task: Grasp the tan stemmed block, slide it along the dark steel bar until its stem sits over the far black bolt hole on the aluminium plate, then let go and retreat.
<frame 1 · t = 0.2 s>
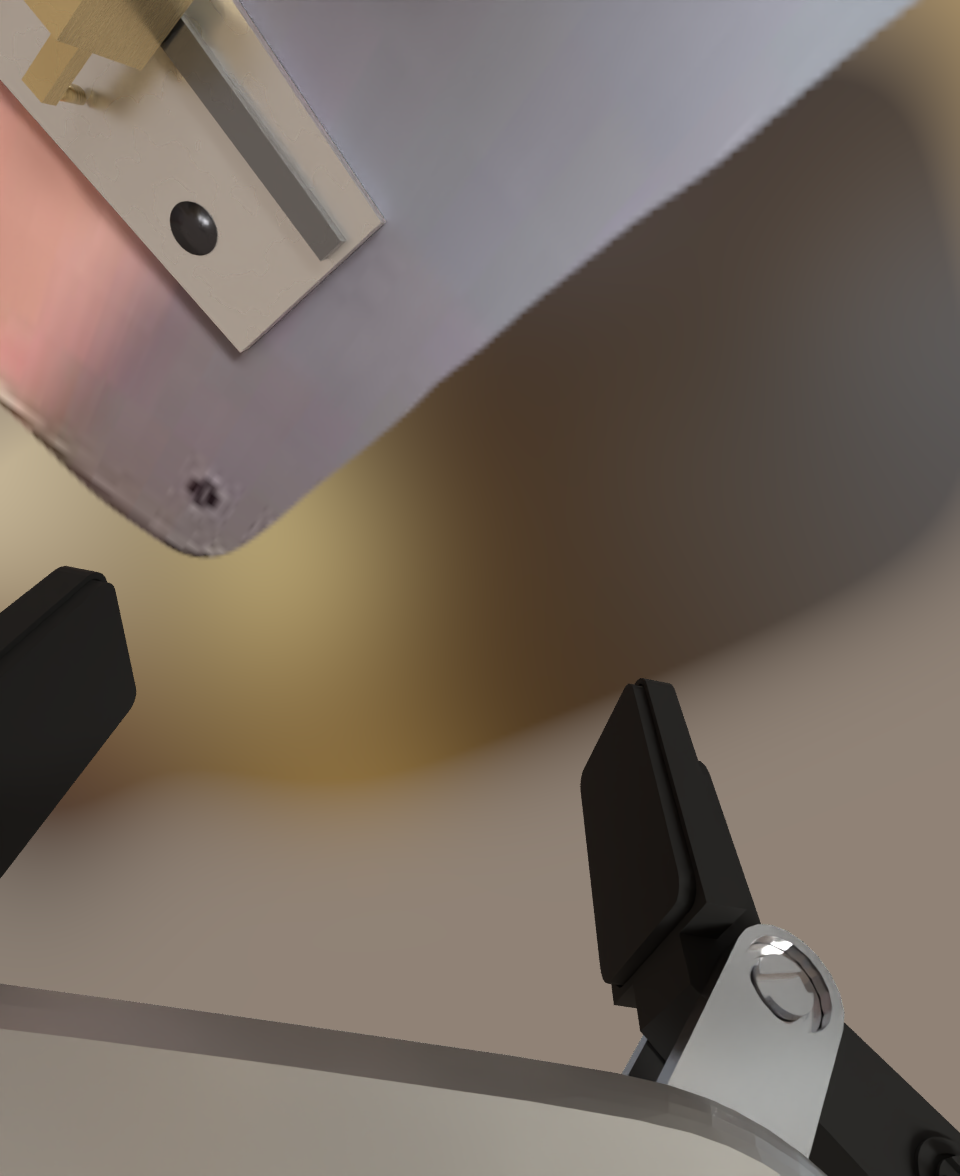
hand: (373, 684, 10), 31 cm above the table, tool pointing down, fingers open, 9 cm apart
hole plate: (135, 56, 29), on the table
tan stemmed block: (74, 11, 24), point 5 cm above the table, slide at 4.0 cm
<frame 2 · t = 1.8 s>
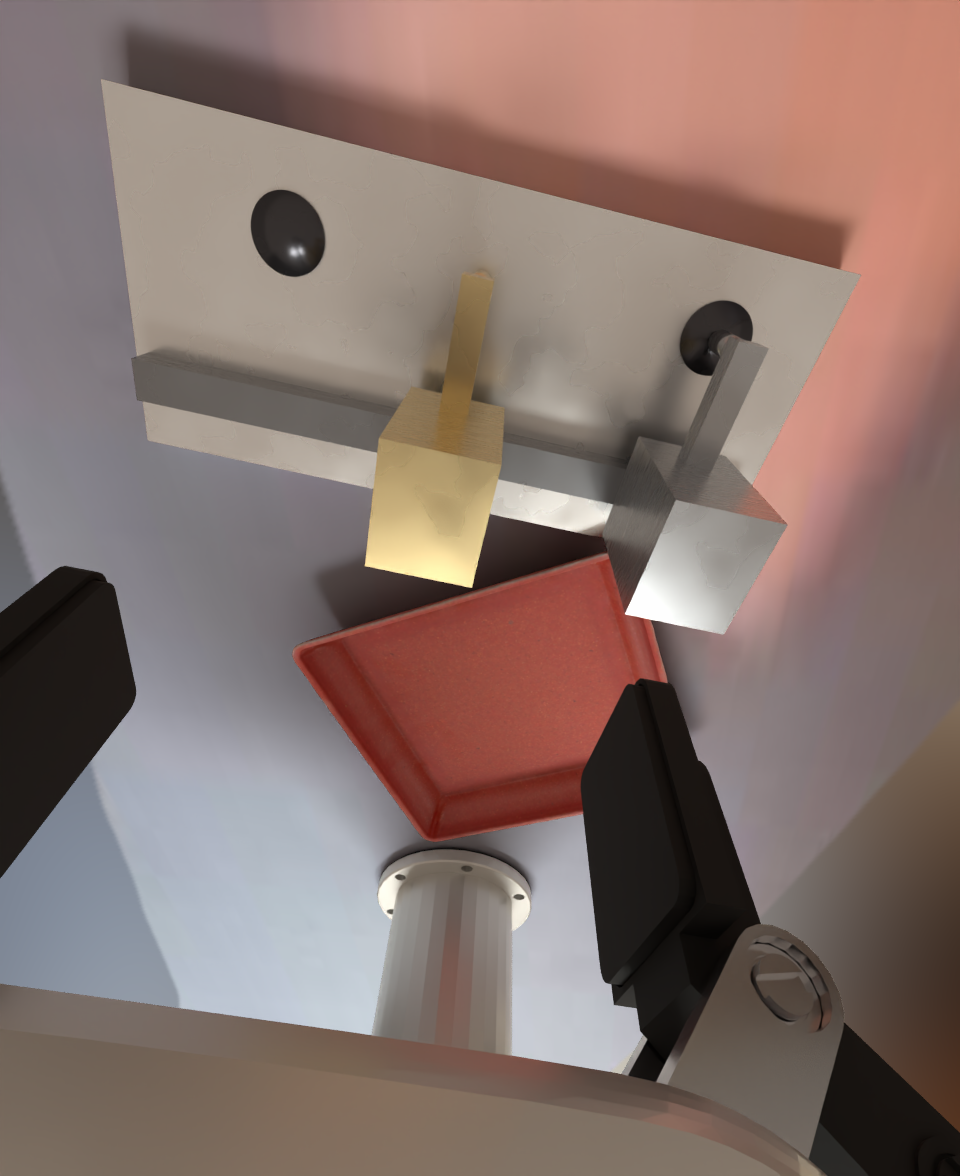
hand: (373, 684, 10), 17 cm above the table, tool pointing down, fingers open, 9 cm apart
plant saucer: (507, 684, 34), on the table
hole plate: (468, 359, 23), on the table
tan stemmed block: (451, 419, 19), point 6 cm above the table, slide at 4.0 cm
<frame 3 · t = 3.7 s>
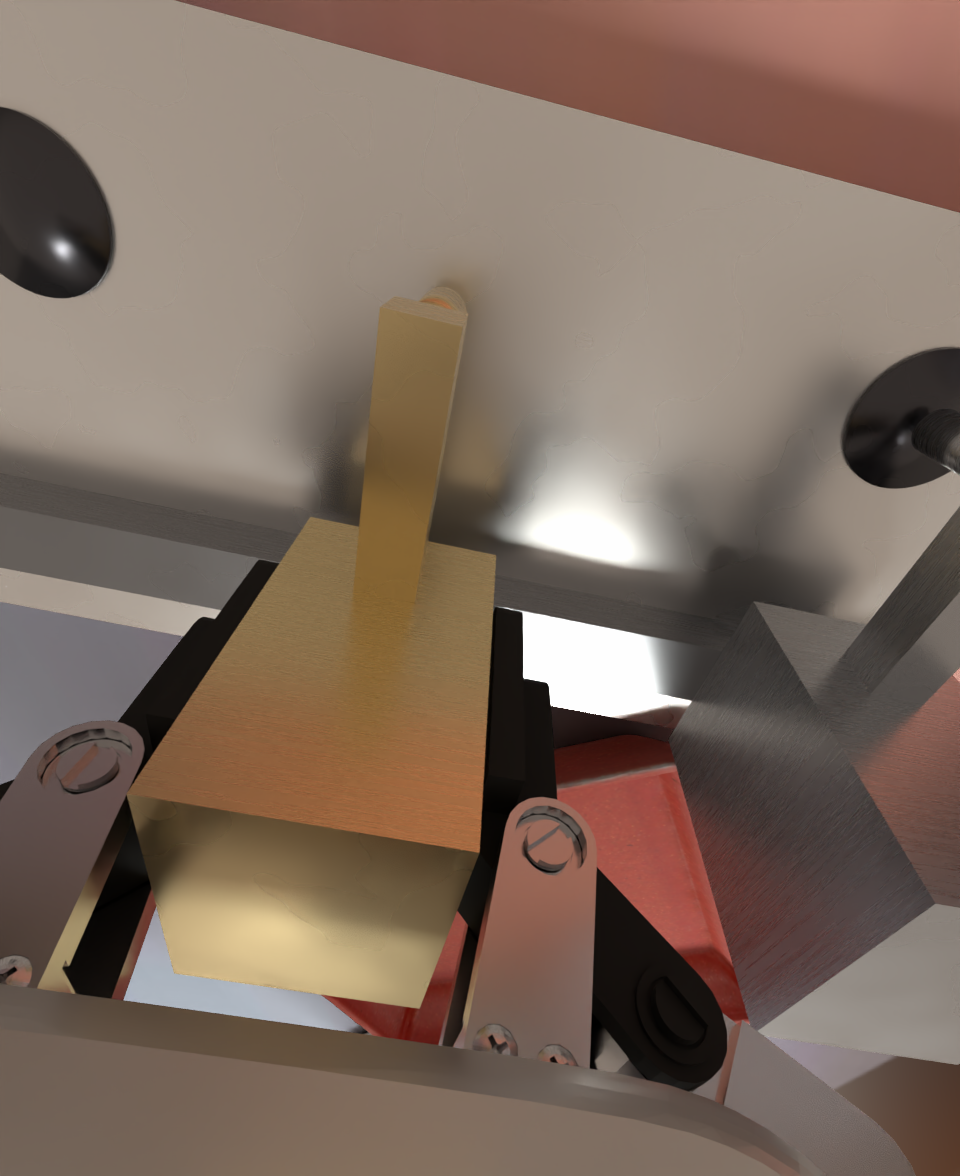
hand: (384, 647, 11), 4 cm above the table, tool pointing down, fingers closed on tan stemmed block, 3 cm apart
plant saucer: (505, 865, 24), on the table
hole plate: (430, 441, 13), on the table
tan stemmed block: (376, 620, 9), point 5 cm above the table, slide at 4.0 cm, touching gripper
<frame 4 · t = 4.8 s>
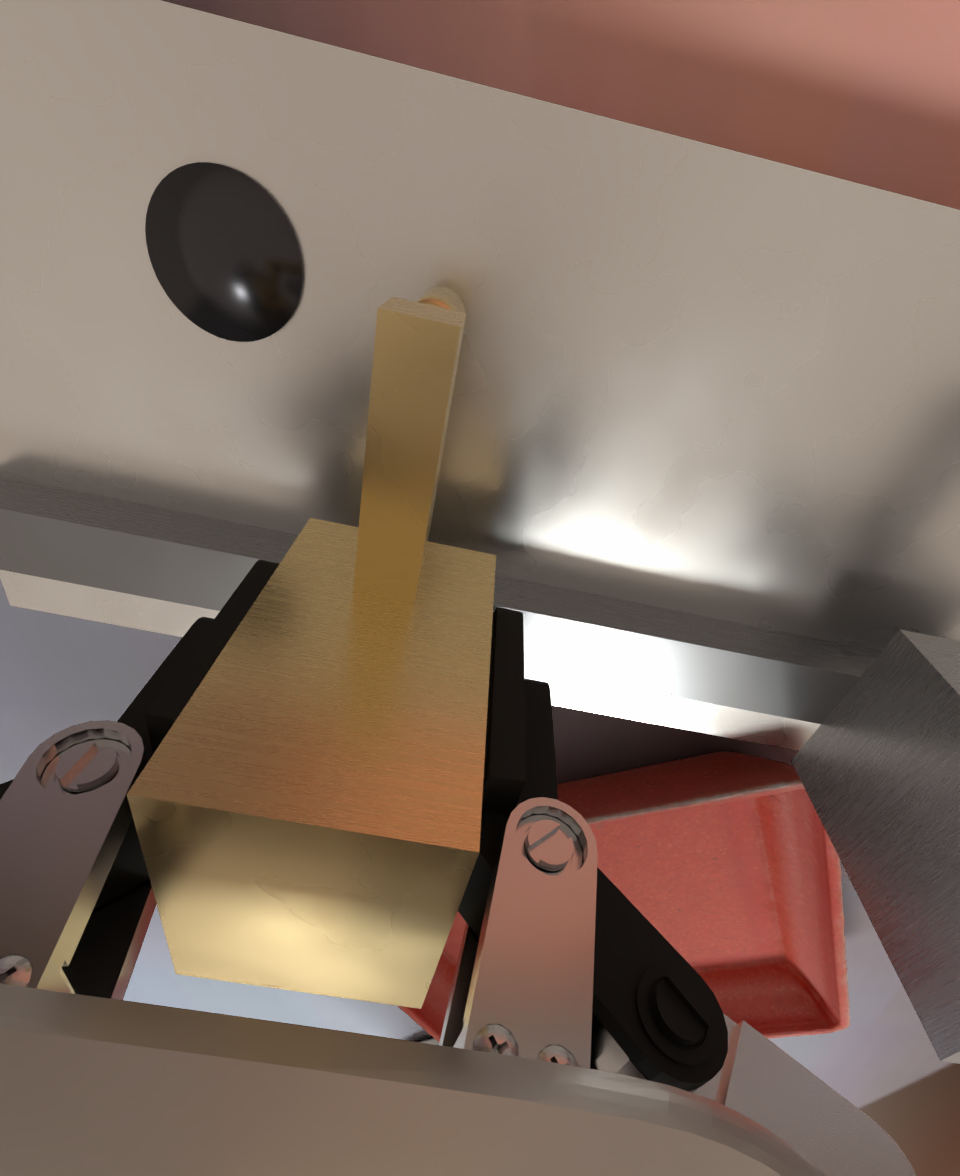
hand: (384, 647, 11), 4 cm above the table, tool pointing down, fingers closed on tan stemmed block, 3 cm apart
plant saucer: (580, 877, 24), on the table
hole plate: (567, 471, 13), on the table
tan stemmed block: (376, 620, 9), point 5 cm above the table, slide at 7.2 cm, touching gripper
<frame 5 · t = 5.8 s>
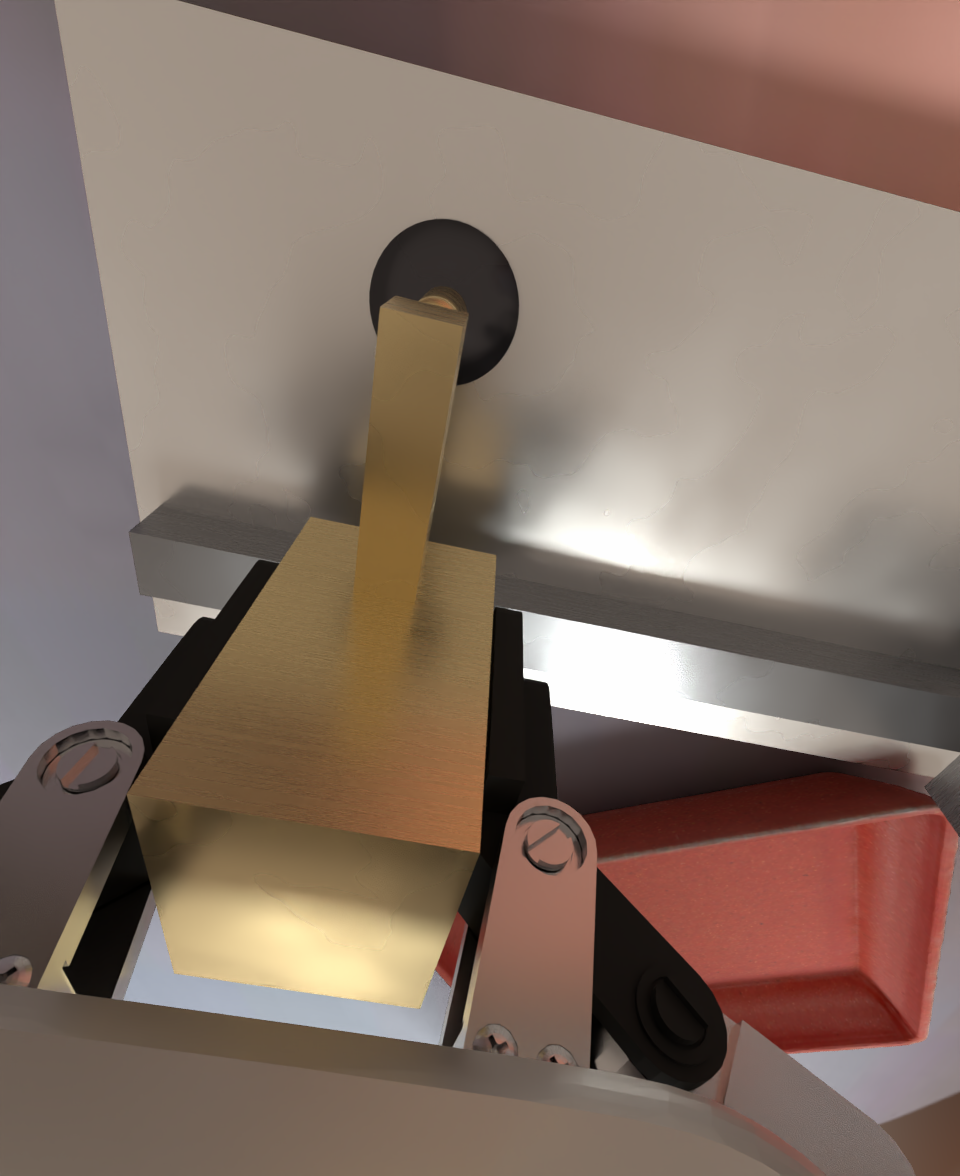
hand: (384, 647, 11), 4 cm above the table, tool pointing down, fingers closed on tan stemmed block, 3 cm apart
plant saucer: (660, 891, 24), on the table
hole plate: (720, 505, 13), on the table
tan stemmed block: (377, 620, 9), point 6 cm above the table, slide at 11.0 cm, touching gripper
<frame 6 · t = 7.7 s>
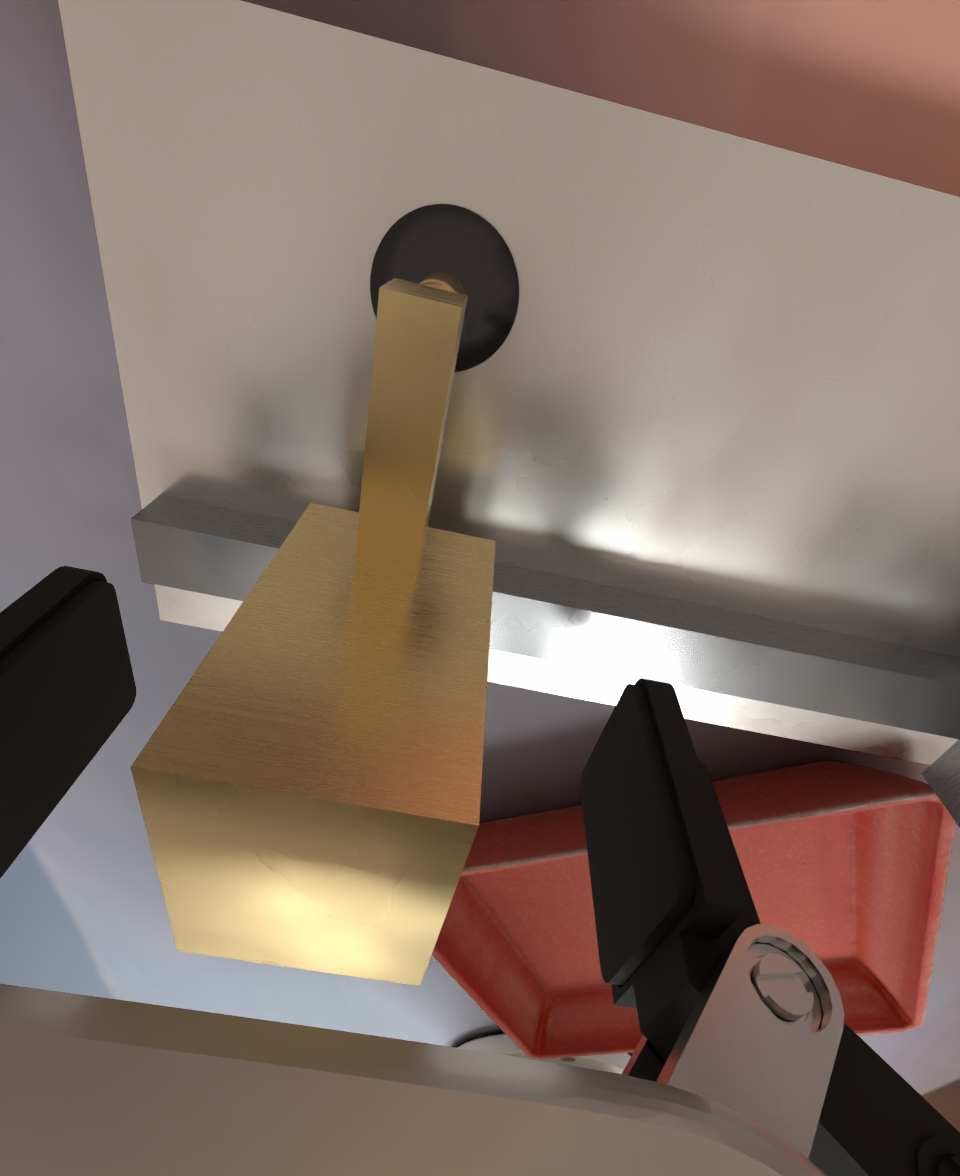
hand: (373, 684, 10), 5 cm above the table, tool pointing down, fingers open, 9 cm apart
plant saucer: (659, 880, 24), on the table
hole plate: (719, 493, 13), on the table
tan stemmed block: (377, 603, 9), point 5 cm above the table, slide at 11.0 cm
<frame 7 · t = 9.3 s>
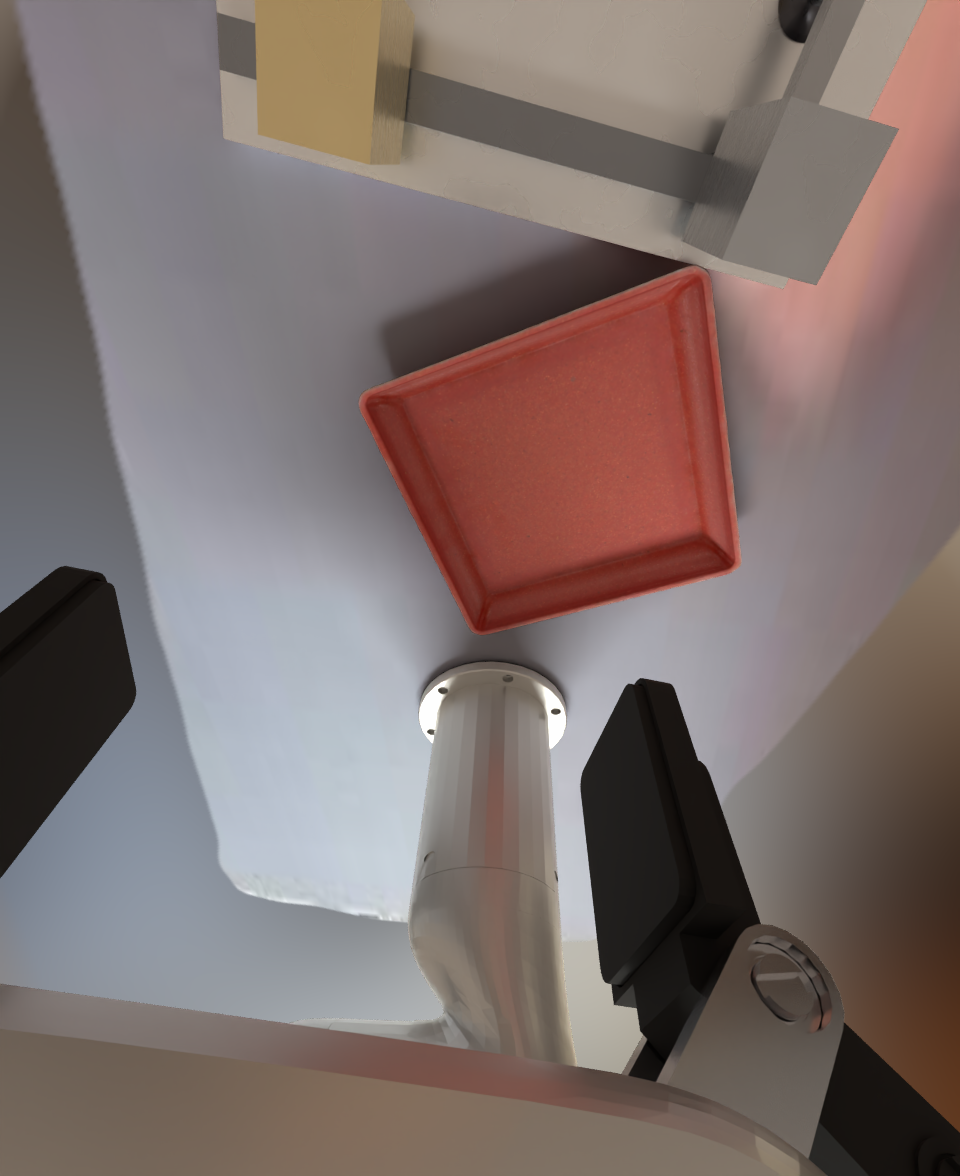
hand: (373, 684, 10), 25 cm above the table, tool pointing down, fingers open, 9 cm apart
plant saucer: (561, 465, 34), on the table
hole plate: (554, 41, 23), on the table
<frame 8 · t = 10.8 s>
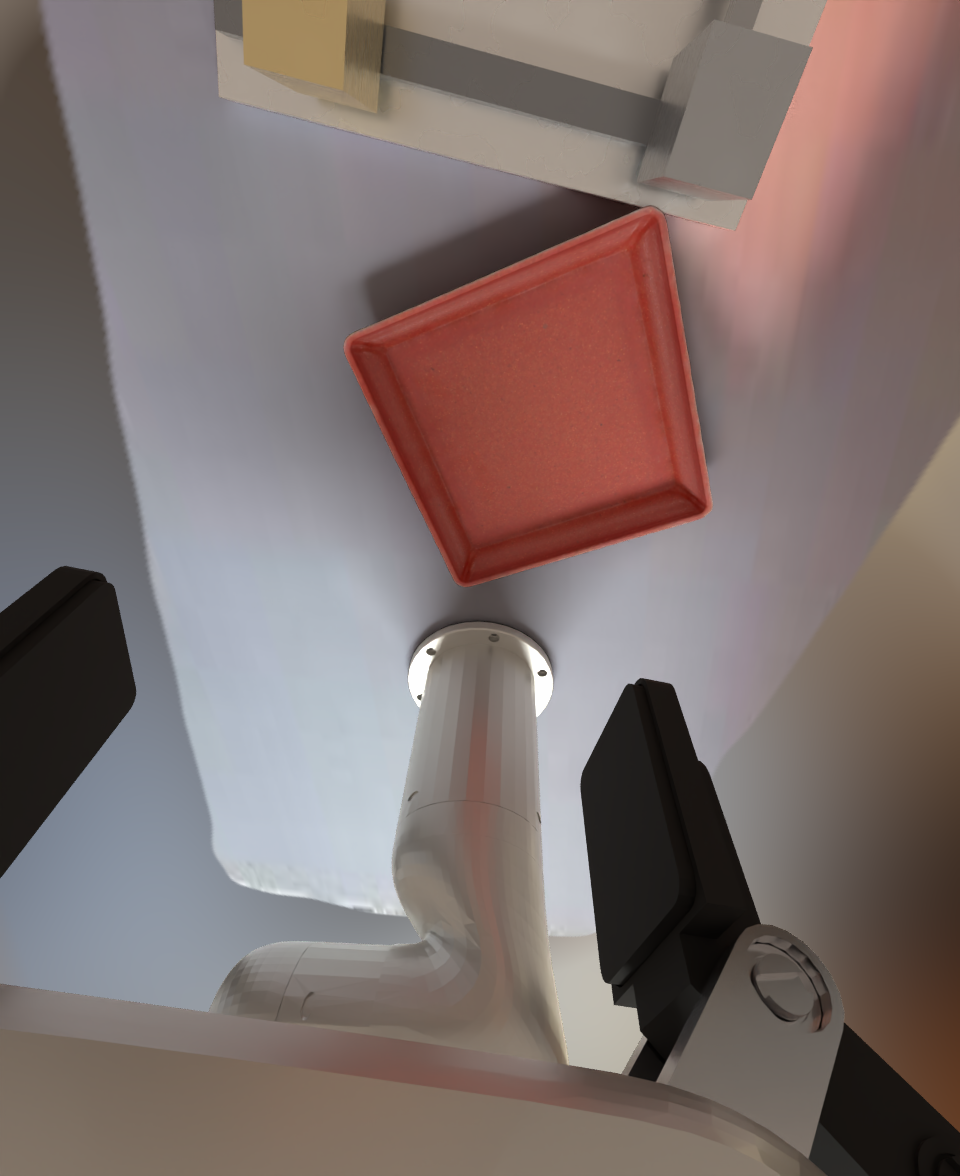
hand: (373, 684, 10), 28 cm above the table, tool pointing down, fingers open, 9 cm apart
plant saucer: (538, 416, 36), on the table
hole plate: (515, 5, 25), on the table
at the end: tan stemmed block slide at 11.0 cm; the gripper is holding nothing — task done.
